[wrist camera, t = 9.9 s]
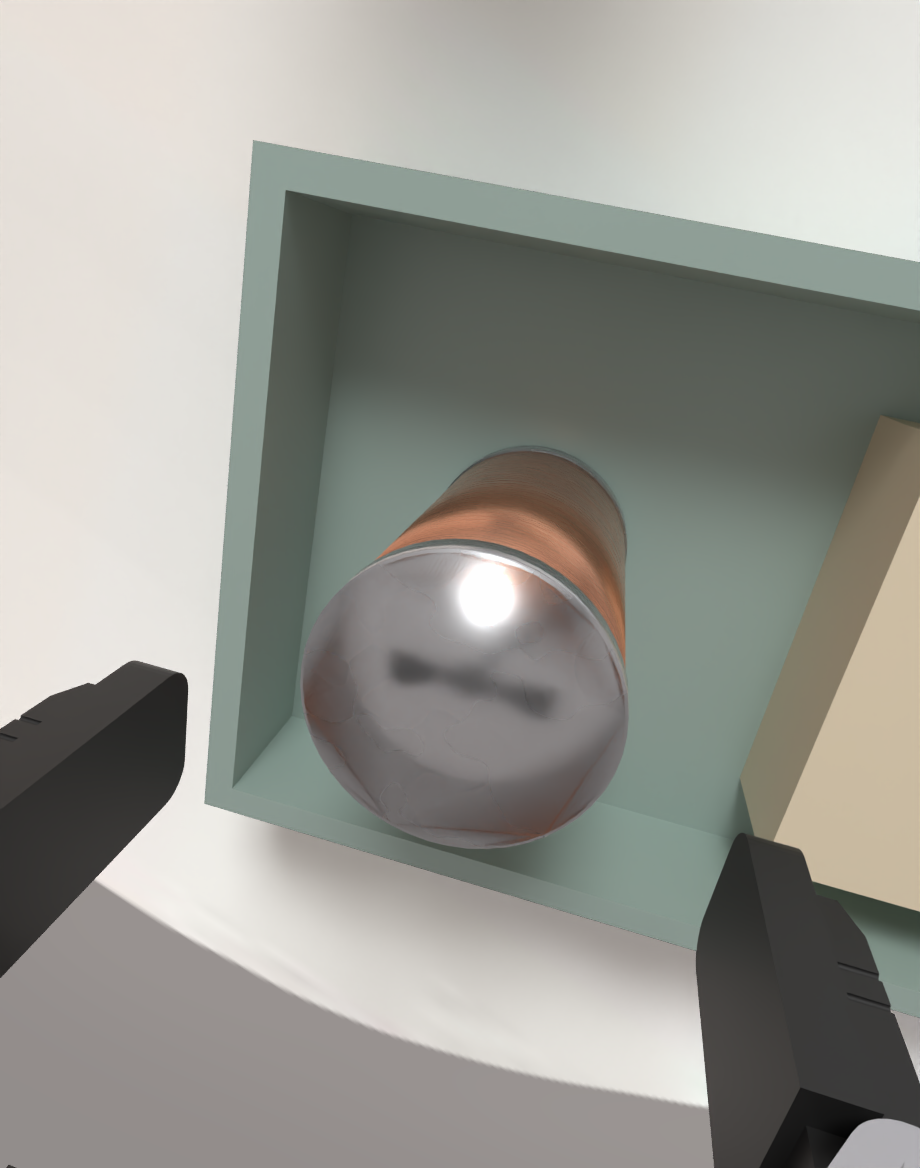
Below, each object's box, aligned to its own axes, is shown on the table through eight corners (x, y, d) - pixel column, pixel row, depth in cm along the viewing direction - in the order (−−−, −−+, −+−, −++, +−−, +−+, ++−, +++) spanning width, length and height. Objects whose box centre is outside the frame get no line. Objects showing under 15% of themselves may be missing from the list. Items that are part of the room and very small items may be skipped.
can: (651, 472, 20) (673, 601, 11) (597, 651, 22) (579, 887, 13) (455, 425, 21) (322, 511, 12) (420, 603, 23) (283, 796, 14)
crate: (1323, 364, 17) (1579, 383, 13) (996, 920, 24) (1087, 1068, 19) (337, 180, 20) (252, 140, 16) (277, 718, 26) (204, 803, 22)
